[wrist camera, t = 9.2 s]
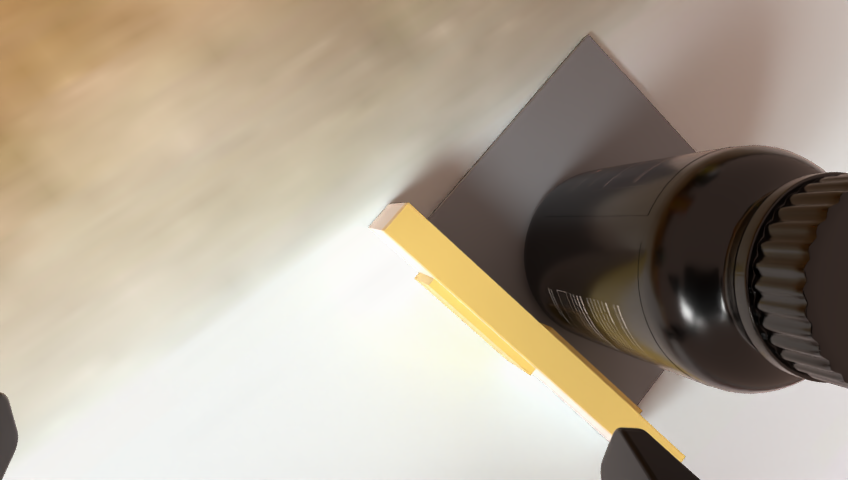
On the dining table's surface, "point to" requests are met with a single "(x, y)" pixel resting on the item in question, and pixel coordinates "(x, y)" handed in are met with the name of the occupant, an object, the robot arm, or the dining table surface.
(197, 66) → the dining table surface
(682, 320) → the supplement bottle
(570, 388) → the rail
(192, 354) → the dining table surface
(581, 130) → the shelf mat
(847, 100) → the dining table surface
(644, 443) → the robot arm
